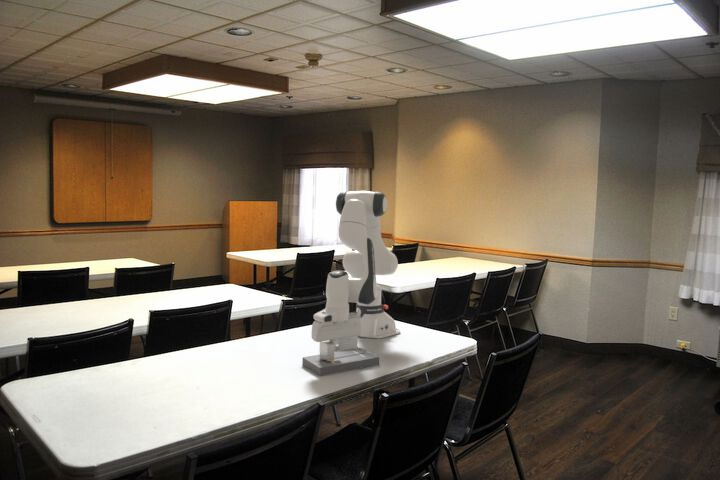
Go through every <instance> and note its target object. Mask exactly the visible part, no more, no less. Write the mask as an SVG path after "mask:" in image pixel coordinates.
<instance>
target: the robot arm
mask: <svg viewBox="0 0 720 480" xmlns="http://www.w3.org/2000/svg"><path fill="white" fill-rule="evenodd" d="M335 208H336V212H337V213H338V214H339V215H340V218H339V224H338V237H339V240H340V241H341V242H342V244H344V246H346V247H347V248H349V249H352V250H350V251H346V253H345V254H344V255H343V258H342V266H343V269H344V270H341V269H340V270H339V269H338V270H333V271H330V272H329V273H328V274H327V279H326V286H325V297H326V303H325V308H323V309H322V310H320V311H317V312H316V313H314V314H313V319H314V321H312V322H313V323H312V325H311V339H312V340H313V341H314V342H316V343H320V342H321V341H328V340H330V341H332V342H336V339H338V340H339V342H338V344H337V345H335V347H334V352H337V351H336V350H341V345H342V343H343V341H344V338H347V337H354V336H358V337H360V338H368V339H369V338H370V339H371V338H372V339H382V338H383V339H384V338H387V337H391V336H395V335H398V334H399V335H400V334H401V330H400V329H399V328H396V322H395V318H392V316H391V315H389V314H388V313H387V312H385V310H388V309H389V305H387V304H382V288H381V286H380V285H379V283H377V278H376V277H377V276H387V275H388V276H389V275H393V274H394V273H395V272H396V271H397V270H398V267H399V262H398V258H397V256H396V254H395V253H394V252H392V251H390V250H389V248H388V247H387V246H386V245H385V243H384V241H383V238H382V231H381V220H380V217H382V216H383V215H384V214H385V213H386V211H387V208H388V200H387V197H386V194H384V193H383V192H380V191H369V190H356V191H355V190H353V191H348V190H347V191H342V192H339V194H337V197H336V199H335ZM349 275H350V276H351V277H350V276H349ZM349 303H355V304H356V305H355V309H356V310H355V311H353V312H352V311H351V312H350V304H349Z"/></svg>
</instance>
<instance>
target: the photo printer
mask: <svg viewBox="0 0 720 480" xmlns="http://www.w3.org/2000/svg"><path fill="white" fill-rule="evenodd" d="M358 340H359V336H354V337H347V338H344V341H343V343H342V345H341V350H336V351H335V352H338V351H343V350H349V349H355V348H358ZM338 342H339V340H338V339H336V342H334V343H335V345H337V344H338Z"/></svg>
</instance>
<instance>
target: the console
mask: <svg viewBox="0 0 720 480" xmlns="http://www.w3.org/2000/svg"><path fill="white" fill-rule="evenodd" d="M380 358H381V357H380V356H378V355H376V354H374V353H373V352H370V351H367V350H365V349H364V348H362V347H357V348H355V349H349V350H343V351H334V360H333V361H328V362H327V361H325V360H324V359H322V358H320V354H315V355H310V356H304V357H302V361H301V362H302V363H301V365H302V366H303V367H305V368H307V369H308V370H310V371H311V372H313V373H314V374H316V375H318V376H319V377H322V376H327V375H328V376H329V375H333V374H339V373H344V372H348V371H353V370H359V369H364V368H365V369H366V368H370V367H374V366H379V365H380V362H381V361H380Z"/></svg>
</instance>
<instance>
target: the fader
mask: <svg viewBox="0 0 720 480" xmlns="http://www.w3.org/2000/svg"><path fill="white" fill-rule="evenodd" d="M334 347H335V343H334V342H332V341H330V340H328V341H321V342H319V355H320V358H322V359H324V360H325V361H327V362H328V361H333V360H334V352H335V351H334Z"/></svg>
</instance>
